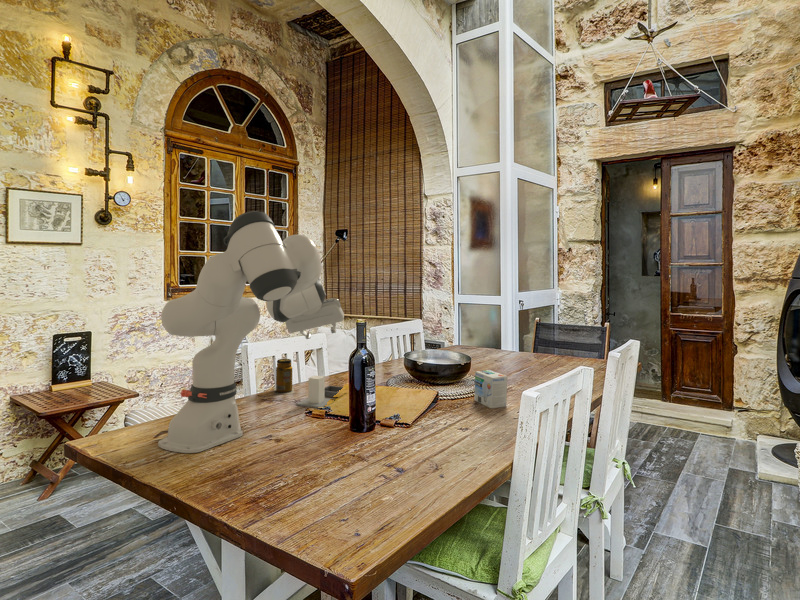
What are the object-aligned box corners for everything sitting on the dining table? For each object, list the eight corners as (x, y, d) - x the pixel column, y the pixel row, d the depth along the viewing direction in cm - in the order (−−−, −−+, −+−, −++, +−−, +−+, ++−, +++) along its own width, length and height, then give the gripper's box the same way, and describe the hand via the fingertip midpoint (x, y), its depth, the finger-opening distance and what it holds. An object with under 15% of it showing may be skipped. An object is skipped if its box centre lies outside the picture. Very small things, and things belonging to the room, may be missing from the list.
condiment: (293, 388, 185) (293, 357, 184) (293, 394, 177) (293, 362, 176) (274, 389, 183) (274, 358, 182) (273, 395, 175) (273, 362, 174)
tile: (321, 408, 160) (321, 407, 159) (296, 405, 163) (296, 403, 163) (336, 400, 169) (336, 399, 169) (311, 397, 172) (311, 396, 172)
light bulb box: (473, 400, 172) (474, 371, 171) (489, 398, 175) (489, 369, 174) (491, 408, 162) (492, 377, 161) (507, 406, 165) (508, 376, 164)
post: (318, 403, 163) (318, 379, 163) (308, 402, 165) (308, 378, 164) (324, 400, 167) (324, 376, 166) (314, 399, 168) (314, 375, 168)
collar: (337, 398, 172) (337, 392, 172) (319, 395, 175) (319, 390, 175) (347, 392, 179) (347, 387, 179) (329, 390, 182) (329, 385, 182)
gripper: (338, 291, 165) (349, 323, 172) (281, 305, 166) (295, 335, 173) (337, 301, 159) (349, 333, 167) (279, 315, 161) (293, 346, 168)
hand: (321, 335), depth 170 cm, fingers open, 8 cm apart
